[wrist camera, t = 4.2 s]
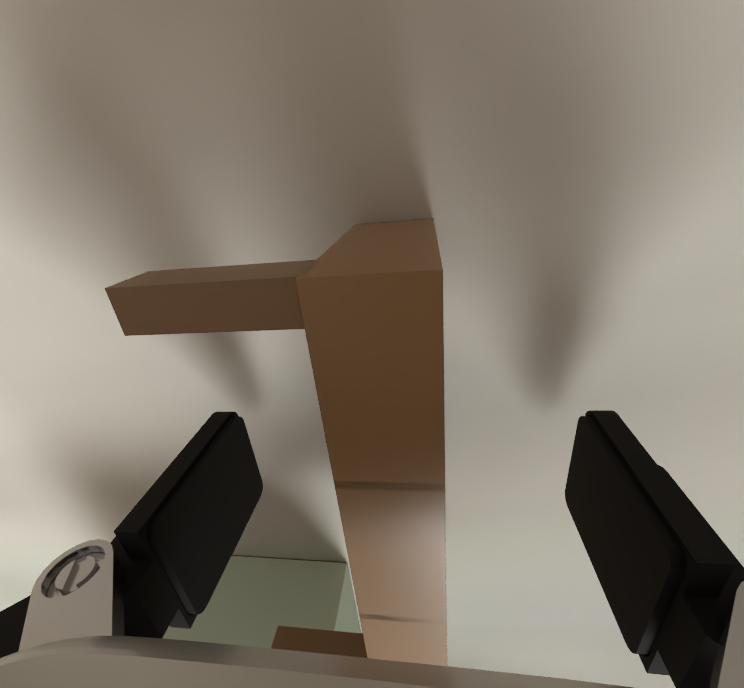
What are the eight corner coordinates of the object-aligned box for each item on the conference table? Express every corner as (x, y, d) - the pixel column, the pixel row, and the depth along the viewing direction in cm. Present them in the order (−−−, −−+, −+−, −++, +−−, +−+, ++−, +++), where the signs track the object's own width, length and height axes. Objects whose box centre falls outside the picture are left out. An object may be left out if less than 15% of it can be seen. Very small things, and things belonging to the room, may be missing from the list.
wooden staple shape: (244, 234, 10) (99, 290, 5) (433, 218, 9) (442, 270, 5) (315, 530, 15) (270, 683, 11) (439, 536, 14) (447, 704, 10)
